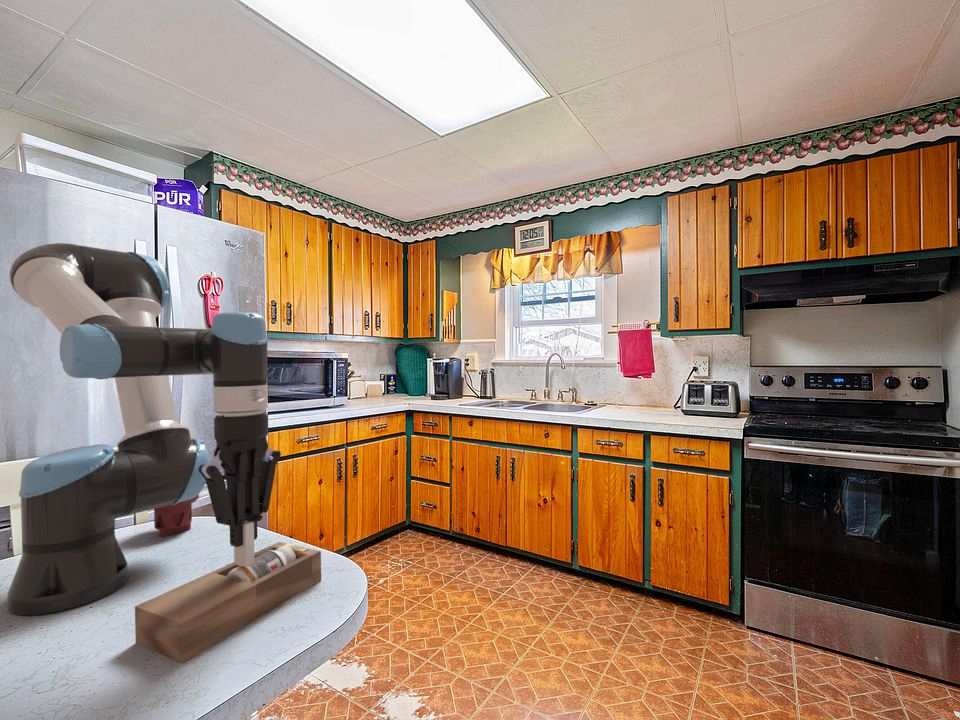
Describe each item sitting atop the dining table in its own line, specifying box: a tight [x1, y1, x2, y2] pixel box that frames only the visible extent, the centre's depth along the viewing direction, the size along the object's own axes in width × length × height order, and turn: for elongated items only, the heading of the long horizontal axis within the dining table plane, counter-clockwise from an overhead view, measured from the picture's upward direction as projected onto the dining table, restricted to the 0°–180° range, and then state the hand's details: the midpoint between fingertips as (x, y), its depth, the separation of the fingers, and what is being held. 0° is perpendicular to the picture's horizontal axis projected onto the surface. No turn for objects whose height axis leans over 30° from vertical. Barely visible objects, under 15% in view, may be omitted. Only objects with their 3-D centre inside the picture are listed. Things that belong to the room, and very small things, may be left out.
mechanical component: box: [153, 493, 200, 538], centre depth 105 cm, size 12×10×10 cm
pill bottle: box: [227, 546, 297, 583], centre depth 77 cm, size 6×6×10 cm
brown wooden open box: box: [134, 541, 322, 663], centre depth 73 cm, size 10×24×5 cm, turn 155°
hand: (244, 563), depth 73 cm, fingers closed
